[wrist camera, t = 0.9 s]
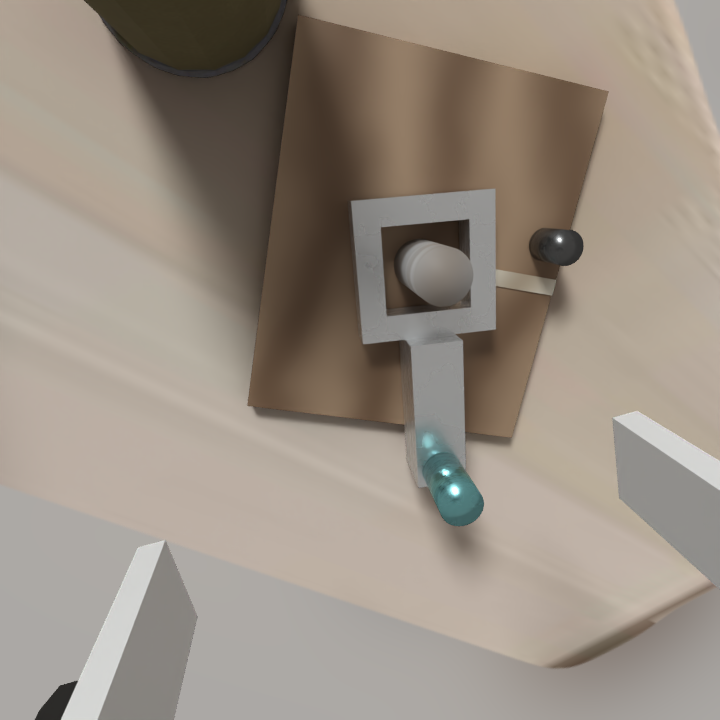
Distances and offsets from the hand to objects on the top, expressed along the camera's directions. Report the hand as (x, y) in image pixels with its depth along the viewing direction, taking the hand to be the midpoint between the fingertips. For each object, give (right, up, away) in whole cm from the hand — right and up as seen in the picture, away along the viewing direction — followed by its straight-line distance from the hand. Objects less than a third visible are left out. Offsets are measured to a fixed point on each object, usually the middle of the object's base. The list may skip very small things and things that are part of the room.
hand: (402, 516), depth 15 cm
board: (+2, +11, +18) cm, 21 cm away
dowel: (+10, +12, +18) cm, 24 cm away
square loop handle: (+3, +6, +18) cm, 19 cm away
